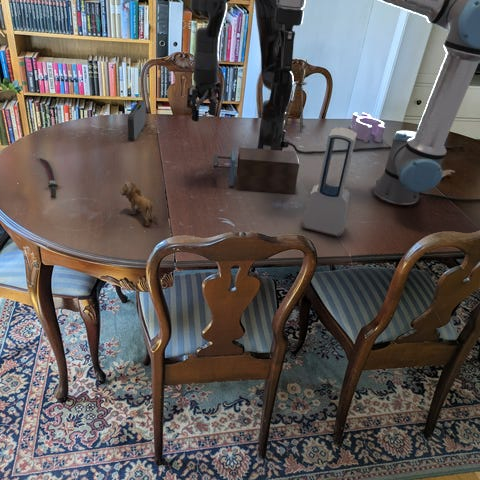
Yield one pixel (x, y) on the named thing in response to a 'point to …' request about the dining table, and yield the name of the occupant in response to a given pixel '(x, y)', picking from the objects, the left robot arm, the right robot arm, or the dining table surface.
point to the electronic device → (330, 192)
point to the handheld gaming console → (136, 120)
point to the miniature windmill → (295, 69)
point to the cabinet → (267, 170)
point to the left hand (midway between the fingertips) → (203, 118)
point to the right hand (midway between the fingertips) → (279, 88)
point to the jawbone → (447, 173)
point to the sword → (52, 181)
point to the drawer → (232, 166)
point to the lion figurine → (137, 201)
